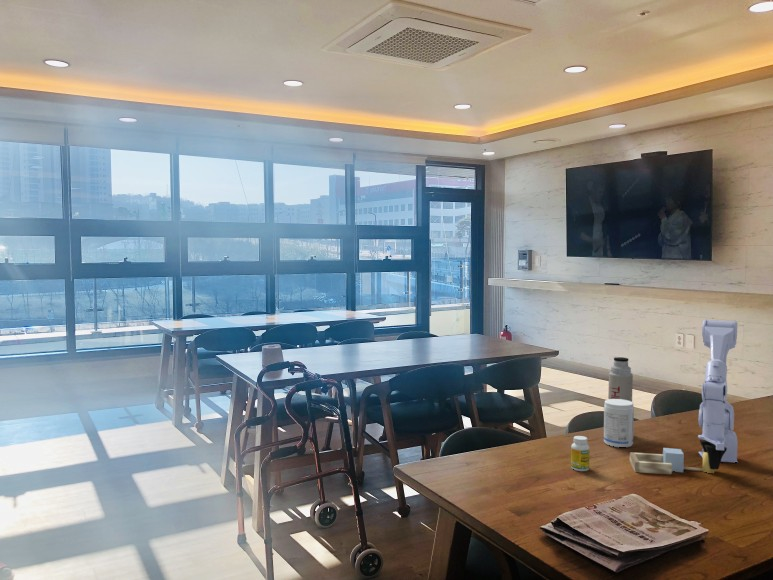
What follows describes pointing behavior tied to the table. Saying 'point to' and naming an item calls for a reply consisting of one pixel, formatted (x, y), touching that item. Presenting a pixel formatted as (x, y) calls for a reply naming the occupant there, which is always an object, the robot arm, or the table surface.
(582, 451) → the supplement bottle
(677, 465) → the corded block
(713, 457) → the robot arm
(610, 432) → the supplement tub
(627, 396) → the thermos bottle
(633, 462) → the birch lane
